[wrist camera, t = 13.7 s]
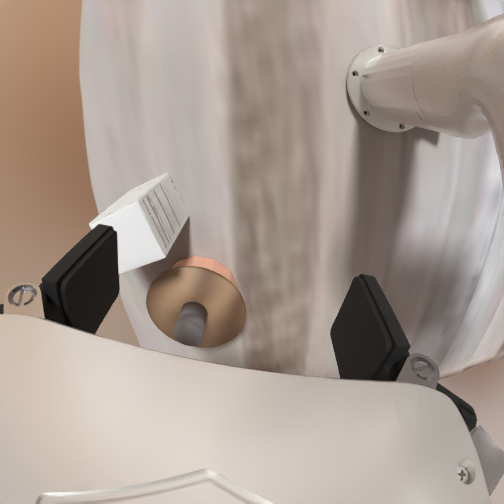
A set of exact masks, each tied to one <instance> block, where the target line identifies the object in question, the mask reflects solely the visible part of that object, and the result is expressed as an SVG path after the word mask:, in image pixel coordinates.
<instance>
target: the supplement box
mask: <svg viewBox="0 0 504 504" xmlns="http://www.w3.org/2000/svg"><path fill="white" fill-rule="evenodd" d="M188 217H189V214H188V212H187V210H186V208H185V206H184V204H183V202H182V199H181V197H180V195H179V193H178V191H177V189H176V187H175V184H174V182H173V180H172V178H171V176H170V174H169V173H165V174H163V175H161V176H158V177H156V178H154V179H152V180H150V181H148V182H146V183H143V184H141V185H139V186H137V187H136V188H134V189H132V190H130V191H128V192H127V193H126V194H125V195H123V196H122V197H121V198H120V199H118V200H117V201H116V202H114V203H113V204H112V205H111V206H109V207H108V208H107V209H106V210H105V211H103V212H102V213H101V214H100V215H99V216H97V217H96V218H95V219H94V220H93V221H92V222H90V223H89V225H90V227H91V229H94V228H95V227H96V226H97V225H98V224H103V225H108V226H112V227H113V228H114V231H117V241H118V270H119V274H122V273H125V272H128V271H131V270H133V269H136V268H139V267H142V266H144V265H147V264H150V263H153V262H155V261H158V260H161V259H164V258H166V256H167V254H168V252H169V251H170V249H171V247H172V245H173V244H174V242H175V240H176V238H177V237H178V235H179V233H180V231H181V229H182V228H183V226H184V224H185V223H186V221H187V219H188Z"/></svg>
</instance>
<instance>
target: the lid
mask: <svg viewBox="0 0 504 504" xmlns="http://www.w3.org/2000/svg"><path fill="white" fill-rule="evenodd" d="M146 304H147V310H148V313H149V315H150V317H151V319H152V321H153V322H154V324H155V325H156V326H157V327H158V328H159V329H160V330H161V331H162V332H163V333H164V334H165V335H167V336H168V337H170V338H172V339H173V340H175V341H177V342H180V343H182V344H184V345H188V346H195V347H213V346H217V345H221V344H224V343H226V342H228V341H230V340H231V339H233V338H234V337H235V336H236V335H237V334H238V333H239V332H240V330H241V329H242V327H243V324H244V321H245V304H244V300H243V298H242V296H241V294H240V292H239V291H238V289H237V288H236V287H235V286H234V285H233V284H232V283H231V282H230V281H229V280H228V279H227V278H225V277H224V276H222V275H220V274H219V273H216V272H214V271H212V270H209V269H206V268H202V267H197V266H179V267H175V268H172V269H169V270H167V271H165V272H163V273H161V274H160V275H159V276H158V277H157V278H156V279H155V280H154V281H153V283H152V284H151V286H150V288H149V290H148V293H147V299H146Z"/></svg>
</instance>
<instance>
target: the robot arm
mask: <svg viewBox="0 0 504 504" xmlns="http://www.w3.org/2000/svg"><path fill="white" fill-rule="evenodd" d="M378 50H380V52H379V51H378ZM352 73H355V76H353V75H352ZM347 90H348V94H349V97H350V100H351V102H352V104H353V106H354V108H355V110H356V111H357V112H358V114H359V115H360V116H361V117H362V118H363V119H364V120H365V121H366V122H368V123H369V124H370V125H372V126H374V127H376V128H378V129H380V130H384V131H388V132H403V131H407V130H410V129H412V128H414V127H415V126H416V127H420V128H425V129H429V130H433V131H436V132H440V133H444V134H448V135H451V136H455V137H459V138H465V139H473V138H478V137H481V136H484V135H486V134H488V133H490V132H491V131H492V135H493V139H494V143H495V147H496V152H497V154H498V158H499V163H500V169H501V175H502V182H503V189H504V14H501V15H498V16H496V17H494V18H492V19H490V20H487V21H485V22H483V23H481V24H479V25H477V26H475V27H473V28H470V29H468V30H465V31H463V32H459V33H456V34H452V35H449V36H445V37H441V38H438V39H434V40H430V41H426V42H422V43H419V44H415V45H412V46H408V47H405V48H402V49H400V48H397V47H394V46H390V45H376V46H372V47H369V48H367V49H365V50H363V51H362V52H360V53H359V54H358V55H357V56H356V57H355V58H354V59H353V61H352V63H351V65H350V67H349V70H348V74H347ZM364 111H366V114H364ZM399 125H401V126H400V127H399ZM118 294H119V270H118V241H117V231H114V228H113V227H112V226H108V225H103V224H98V225H97V226H96V227H95V228H94V229H92V230H91V231H90V232H89V233H88V234H87V235H86V236H85V237H84V238H83V239H81V240H80V242H78V243H77V244H76V245H75V246H74V247H73V248H72V249H71V250H70V251H69V252H68V253H67V254H66V255H65V256H64V257H63V258H62V259H61V260H60V261H59V262H58V263H57V264H56V265H55V266H54V267H53V268H52V269H51V270H50V271H49V272H48V273H47V274H46V275H45V276H44V277H43V278H42V283H41V284H40V286H37V284H34V283H30V282H22V283H18V284H16V285H14V286H12V287H11V288H10V289H8V290H7V292H6V293H5V296H4V304H1V305H0V504H491V502H490V498H489V497H490V495H491V494H492V492H493V490H494V489H495V487H496V486H497V484H498V482H499V480H500V479H501V477H502V475H503V473H504V452H503V451H502V450H501V448H500V447H499V446H498V445H497V444H496V443H495V441H494V440H493V439H492V438H491V437H490V436H489V435H488V433H487V432H486V431H485V430H484V429H483V428H482V427H481V426H480V425H479V426H478V427H476V422H477V419H476V414H475V412H474V409H473V408H472V407H471V406H470V405H469V404H468V403H466V402H465V401H463V400H462V399H460V398H459V397H458V396H456V395H454V394H453V393H452V392H450V391H449V390H447V389H446V388H445V387H443V386H442V385H440V384H439V383H438V380H439V370H438V368H437V366H436V364H435V363H434V362H433V361H432V360H431V359H429V358H428V357H426V356H424V355H422V354H418V353H417V354H411V355H410V354H409V352H408V350H409V349H410V344H409V342H408V340H407V338H406V336H405V334H404V332H403V330H402V328H401V326H400V324H399V322H398V320H397V318H396V316H395V314H394V312H393V310H392V308H391V306H390V304H389V303H388V301H387V299H386V297H385V295H384V293H383V291H382V289H381V288H380V286H379V284H378V282H377V280H376V278H375V277H374V276H369V275H364V274H360V275H359V276H358V277H355V278H354V279H353V281H352V284H351V286H350V288H349V291H348V293H347V295H346V297H345V300H344V302H343V304H342V306H341V308H340V310H339V313H338V315H337V317H336V319H335V321H334V323H333V325H332V328H331V332H330V335H331V340H332V344H333V348H334V352H335V357H336V361H337V365H338V370H339V374H340V379H338V378H324V377H312V376H302V375H292V374H284V373H276V372H268V371H260V370H253V369H246V368H240V367H234V366H228V365H222V364H216V363H211V362H205V361H200V360H195V359H190V358H185V357H181V356H176V355H172V354H167V353H163V352H158V351H154V350H150V349H146V348H142V347H138V346H134V345H130V344H126V343H123V342H119V341H116V340H112V339H109V338H105V337H102V336H98V335H95V333H96V331H97V329H98V328H99V326H100V324H101V322H102V321H103V319H104V317H105V316H106V314H107V313H108V311H109V309H110V307H111V306H112V304H113V303H114V301H115V300H116V298H117V296H118Z"/></svg>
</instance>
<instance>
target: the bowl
mask: <svg viewBox="0 0 504 504" xmlns="http://www.w3.org/2000/svg"><path fill="white" fill-rule="evenodd" d="M179 266H197V267H202V268H206V269H209V270H212V271H214V272H216V273H219V274H220V275H222V276H224V277H225V278H227V279H228V280H229V281H230V282H231V283H232V284H233V285H234V286H235V287H236V288H237V289H238V286H237V284H236V281H235V279H234V277H233V275H232V272H231V271H230V270H229V269H227V268H226V267H225V266H223V265H222V264H221V263H219V262H218V261H217V260H215V259H210V258H205V257H200V256H192V257H189V258H186V259H182V260H179V261H177V262H176V263H175V265H174V266H173V267H172V268H175V267H179ZM172 268H171V269H172Z"/></svg>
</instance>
